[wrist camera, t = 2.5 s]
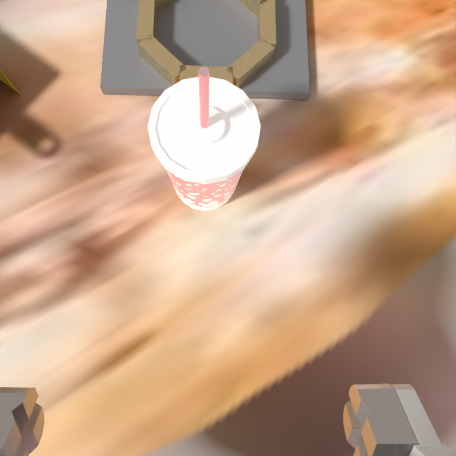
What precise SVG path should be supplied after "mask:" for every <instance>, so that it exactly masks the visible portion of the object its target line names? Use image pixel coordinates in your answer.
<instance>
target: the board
mask: <svg viewBox="0 0 456 456" xmlns="http://www.w3.org/2000/svg"><path fill="white" fill-rule="evenodd" d="M138 3H139V0H107V10H106V23H105V36H104V49H103V61H102V74H101V89H102V92H103V94H112V95H148V96H161V94H162V93H163V92H164V90H166V89H168V88H169V87H171V86H172V85H171V84H169V83H168V82H167V81H166V80H165V79H164V78H163V77H162V76H161V75H160V74H159V73H158V72H157V71H156V70H155V69H154V68H153V67H152V66H151V65H150V64H148V63H147V62H146V61H145V60H144V59H143V58H142V57H141V53H140V52H139V48H138V44H137V40H136V38H137V20H138ZM275 17H276V47H275V51H274V55H273V57H272V60H271V62H270V63H268V64H267V65H266V66H265V67H264V68H263V69H262V70H260V71H259V72H258V73H257V74H256V75H255V76H254V77H252V78H251V79H250V80H249V81H248V82H247V83H246V84H244V85H243V86H242V87H241V88H240V89H241V90H243V91H244V92H245V94H246V95H247V96H248V98H257V99H293V100H307V98H308V96H309V94H310V88H309V66H308V45H307V24H306V3H305V0H275ZM156 40H158V41H159V42H160V43H161V44H162V45H163V46H164V47H165V48H166V49H167V50H168V51H169V52H170V53H171V54H172V55H174V56H175V57H176V58H177V59H178V60H179V61H180V62H181V63H182V64H183V65H191V66H223V67H229V66H230V65H232V64H233V63H234V62H235V61H236V60H237V59H239V58H240V57H241V56H242V55H243V54H244V53H246V52H247V51H248V50H249V49H250V48H251V47H253V46H254V45H255V44H256V43H257V42H258V39H257V17H256V16H255V15H254V14H253V13H252V12H251V11H249V10H248V9H247V8H246V7H245V6H244V5H243V4H242V3H240V2H239V1H238V0H174V1H173V2H171V3H170V4H169V5H168V6H166V7H165V8H164V9H162V10H161V11H160V12H159V13H157V29H156Z"/></svg>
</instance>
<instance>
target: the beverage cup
mask: <svg viewBox="0 0 456 456" xmlns="http://www.w3.org/2000/svg"><path fill="white" fill-rule="evenodd" d="M198 73H199V77H195V78H189V79H183V80H181V81H179V82H178V83H176V84H174V85H173V86H171V87H169V88H168V89H166V90H164V92H163V93H162V94H161V96H160V97H159V98H158V100H157V101H156V102H155V104H154V105H153V106H152V110H151V114H150V118H149V123H148V131H149V136H150V141H151V146H152V149H153V151H154V153H155V155H156V156H157V157H158V159H159V160H160V162H161V163H162V165H163V166H164V167H165V169H166V170H167V172H168V174H169V177H170V179H171V181H172V183H173V186H174V188H175V190H176V192H177V194H178V195H179V197H180V198H181V200H182V201H183V202H184V203H185V204H187V205H188V206H190V207H192V208H193V209H197V210H203V211H208V210H213V209H218V208H219V207H221V206H222V205H224V204H225V203H227V202H228V200H229V199H230V197H231V196H232V194H233V193H234V190H235V188H236V186H237V183H238V181H239V179H240V176H241V174H242V171H243V169H244V168H245V167H246V165H247V164H248V162H249V161H250V159H251V158H252V156H253V155H254V153H255V151H256V149H257V146H258V140H259V134H260V128H261V125H260V121H259V118H258V114H257V110H256V107H255V105H254V104H253V103H252V101H251V100H250V99H249V98H248V96H247V95H246V94H245V92H244V91H243V90H241V89H240V88H238V87H236V86H235V85H233V84H231V83H230V82H228V81H226V80H224V79H218V78H213V77H210V71H209V69H208V68H207V67H201V68H200V69H199V71H198Z"/></svg>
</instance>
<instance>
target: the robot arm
mask: <svg viewBox="0 0 456 456" xmlns="http://www.w3.org/2000/svg"><path fill="white" fill-rule="evenodd" d="M349 396H350V401H349V402H348V403H347V404H345V408H344V412H343V415H344V416H343V420H344V429H345V433H346V437H347V441H348V442H349V443H350V444H351V445H352V446H353V447H354V448H355V449H356V451H355V453H354V456H456V451H454V450H453V449H452V448H451V447H450V446H449V445H447V444H441V442H440V440H439V438H438V436H437V434H436V432H435V430H434V428H433V426H432V424H431V422H430V420H429V418H428V416H427V414H426V412H425V410H424V408H423V406H422V404H421V402H420V400H419V398H418V396H417V393H416V392H415V389H414V388H413V387H412V386H411V385H409V384H396V385H389V384H369V385H353V386H351V388H350V391H349ZM37 398H38V394H37V391H36V389H35V388H21V387H0V456H29V454H30V453H31V452H32V451H33V450H34V449H35V448H36V447H37V446H38V445H39V442H40V439H41V436H42V432H43V426H44V412H43V409H42V407H41V406H40V405H38V404H37V403H36V400H37Z"/></svg>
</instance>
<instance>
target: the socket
mask: <svg viewBox="0 0 456 456" xmlns="http://www.w3.org/2000/svg"><path fill="white" fill-rule="evenodd" d="M173 1H174V0H139V3H138V20H137V38H136V40H137V44H138V48H139V52H140V53H141V57H142V58H143V59H144V60H145V61H146V62H147V63H148V64H150V65H151V66H152V67H153V68H154V69H155V70H156V71H157V72H158V73H159V74H160V75H161V76H162V77H163V78H164V79H165V80H166V81H167V82H168V83H169V84H171V85H172V86H173V85H174V84H176V83H178V82H179V81H181V80H183V79H189V78H195V77H199V73H198V71H199V69H200V68H201V67H207V68H208V69H209V71H210V77H213V78H218V79H224V80H226V81H228V82H230V83H231V84H233V85H235V86H236V87H238V88H241V87H242V86H243V85H244V84H246V83H247V82H248V81H249V80H250V79H251V78H252V77H254V76H255V75H256V74H257V73H258V72H259V71H260V70H262V69H263V68H264V67H265V66H266V65H267V64H268V63H270V62H271V60H272V57H273V55H274V51H275V47H276V17H275V0H238V1H239V2H240V3H242V4H243V5H244V6H245V7H246V8H247V9H248V10H249V11H251V12H252V13H253V14H254V15H255V16H256V17H257V39H258V42H257V43H256V44H255V45H254V46H253V47H251V48H250V49H249V50H248V51H247V52H246V53H244V54H243V55H242V56H241V57H240V58H239V59H237V60H236V61H235V62H234V63H233V64H232V65H230V66H229V67H223V66H191V65H183V64H182V63H181V62H180V61H179V60H178V59H177V58H176V57H175V56H174V55H172V54H171V53H170V52H169V51H168V50H167V49H166V48H165V47H164V46H163V45H162V44H161V43H160V42H159V41H158V40H156V29H157V13H159V12H160V11H161V10H162V9H164V8H165V7H166V6H168V5H169V4H170V3H171V2H173Z"/></svg>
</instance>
